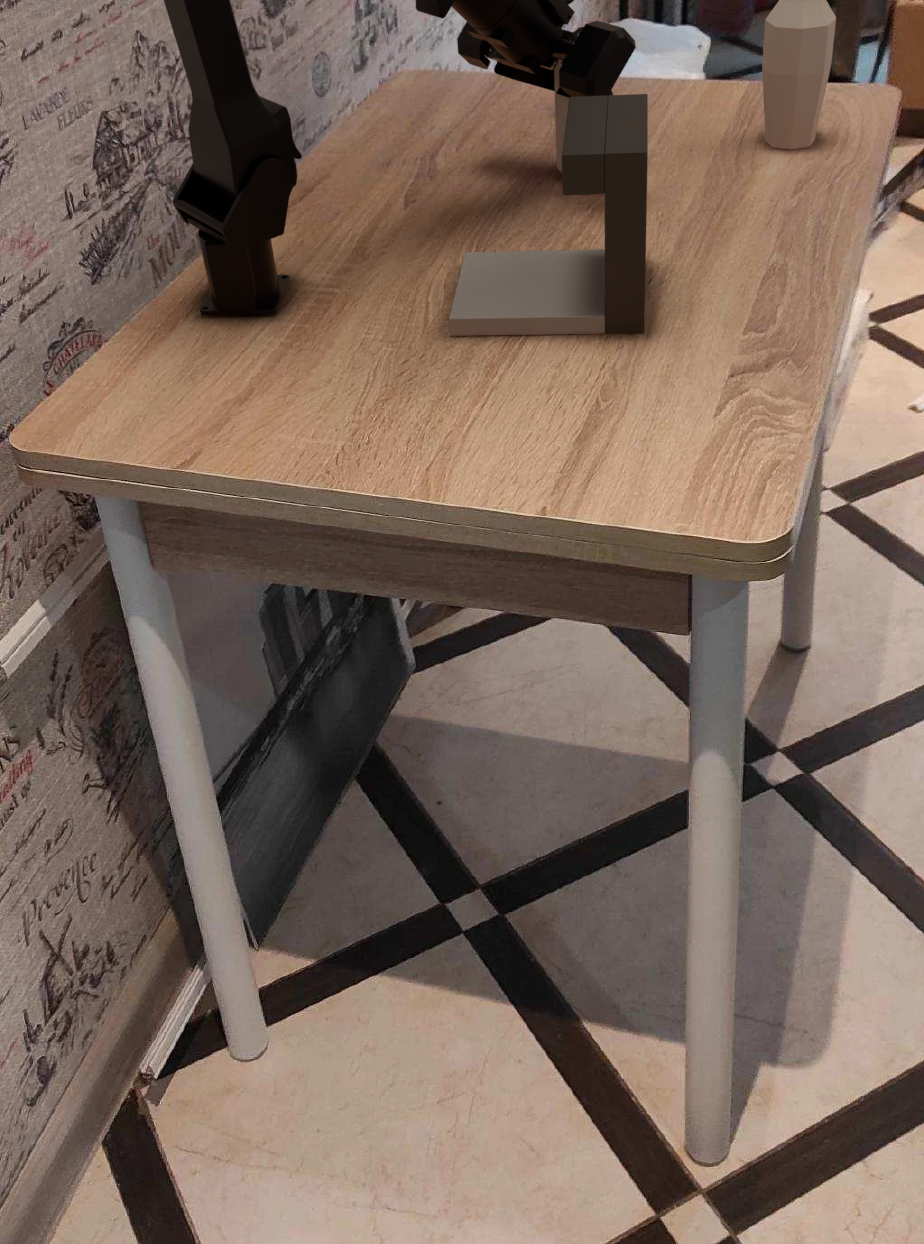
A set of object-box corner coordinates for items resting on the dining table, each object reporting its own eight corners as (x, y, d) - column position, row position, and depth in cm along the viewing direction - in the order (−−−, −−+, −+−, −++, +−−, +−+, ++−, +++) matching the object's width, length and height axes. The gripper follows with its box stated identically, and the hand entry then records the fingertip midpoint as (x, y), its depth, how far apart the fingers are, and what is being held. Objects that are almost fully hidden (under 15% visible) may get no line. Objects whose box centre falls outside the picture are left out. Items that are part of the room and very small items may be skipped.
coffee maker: (644, 333, 102) (647, 152, 93) (450, 336, 104) (435, 158, 95) (644, 264, 111) (647, 93, 102) (466, 268, 113) (453, 100, 104)
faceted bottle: (821, 128, 131) (847, -122, 117) (825, 152, 127) (852, -105, 113) (756, 129, 132) (773, -119, 118) (757, 153, 128) (775, -102, 114)
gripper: (619, -75, 105) (711, 37, 117) (473, -105, 117) (570, 0, 129) (546, 53, 107) (644, 151, 118) (410, 11, 118) (511, 104, 130)
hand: (592, 97), depth 124 cm, fingers closed on beverage can, 5 cm apart
